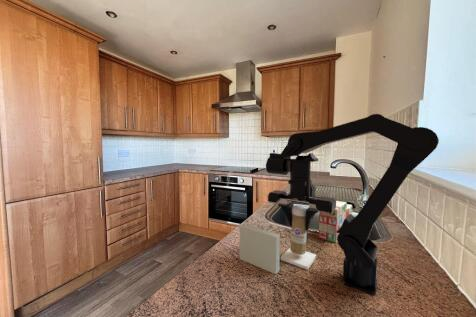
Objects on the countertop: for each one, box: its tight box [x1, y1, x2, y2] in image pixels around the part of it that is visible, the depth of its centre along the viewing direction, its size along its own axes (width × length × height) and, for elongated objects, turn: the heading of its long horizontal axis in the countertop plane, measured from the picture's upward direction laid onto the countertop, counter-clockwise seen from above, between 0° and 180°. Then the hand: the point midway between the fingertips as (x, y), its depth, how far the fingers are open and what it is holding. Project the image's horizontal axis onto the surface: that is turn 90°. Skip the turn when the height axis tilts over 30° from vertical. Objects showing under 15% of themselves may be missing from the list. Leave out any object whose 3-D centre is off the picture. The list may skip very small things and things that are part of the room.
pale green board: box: [239, 223, 281, 275], centre depth 56 cm, size 12×2×10 cm, turn 53°
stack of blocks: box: [318, 200, 354, 244], centre depth 78 cm, size 21×6×12 cm, turn 136°
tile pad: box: [280, 247, 317, 271], centre depth 59 cm, size 8×8×1 cm
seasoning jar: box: [289, 205, 309, 255], centre depth 59 cm, size 5×5×13 cm
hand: (299, 228), depth 58 cm, fingers closed on seasoning jar, 4 cm apart
